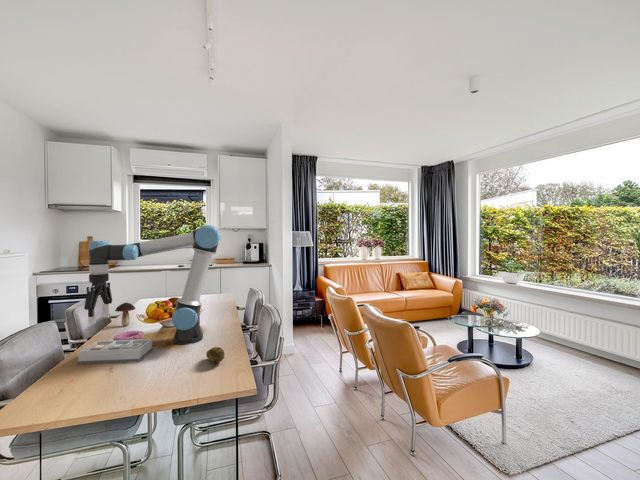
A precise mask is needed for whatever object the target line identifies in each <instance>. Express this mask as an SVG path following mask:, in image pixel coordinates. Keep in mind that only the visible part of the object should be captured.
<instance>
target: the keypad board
mask: <svg viewBox="0 0 640 480" xmlns="http://www.w3.org/2000/svg"><path fill="white" fill-rule="evenodd" d="M135 343H143V345H142V346H141V347H139V348H138V349H127V347H128V346H130V345H131V344H135ZM106 344H108V345H107V346H106V347H104V348H102V349H101V350H91V348H92V347H94V346H96V345H106ZM114 344H125V345H124V346H123V347H121V348H120V349H116V350H109V348H110V347H111V346H113V345H114ZM153 350H154V349H153V339H151V338H149V339H145V338H144V339H142V340H113V339H112V340H97V341H95V342H93V343H91V344H89V345H87V346H85V347H84V348H82V349H80V350H78V353H77V354H78V360H77V365H86V364H87V365H90V364H113V363H114V364H115V363H116V364H117V363H135V362H136V363H138V362H140V361H141V360H143V359H144V358H145V357H147V355H149V354H150V353H152V351H153Z"/></svg>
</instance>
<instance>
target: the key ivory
mask: <svg viewBox="0 0 640 480" xmlns="http://www.w3.org/2000/svg"><path fill="white" fill-rule="evenodd" d="M142 345H143V343H135V344H131V345H130V346H128V347H127V349H138V348H139V347H141V346H142Z"/></svg>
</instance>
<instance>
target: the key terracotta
mask: <svg viewBox="0 0 640 480" xmlns="http://www.w3.org/2000/svg"><path fill="white" fill-rule="evenodd" d="M107 345H108V344H106V345H96V346H94V347H92V348H91V350H101V349H102V348H104V347H106V346H107Z"/></svg>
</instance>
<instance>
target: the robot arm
mask: <svg viewBox="0 0 640 480" xmlns="http://www.w3.org/2000/svg"><path fill="white" fill-rule="evenodd" d="M220 233H221V232H220V231H219V230H218V228H217V227H215V226H214V225H209V224H205V225H204V224H203V225H202V226H199V227H198V229H195V230H191V232H189V233H183V234H177V235H173V236H166V237H161V238H156V239H151V240H146V241H140V242H135V243H129V244H110V242H109V241H108V240H91V241H89V243H88V273H89V274H88V282H89V283H91V285H90V286H87V287H86V295H85V302H84V310H87V312H88V313H87V316H88V317H87V318H88V320H87V322H88V323H87V324H88V325H95V324H96V323H97V313H96V312H97V311H96V308H95V307H96V304H97V300H98V299H99V298H98V297H99V296H100V298H101V300H102V307H101V308H102V309H101V310H102V314H101V315H102V316H101V317H102V318H110V304H112V303H113V296H112V291H111V282H109V280H110V279H109V278H110V275H109V274H110V273H109V272H110V271H109V268H110V267H109V264H110V263H109V261H136V260H137V259H138V258H140V257H145V256H151V255H157V254H161V253H165V252H171V251H176V250H181V249H187V248H191V247H192V249H193V251H194V253H193V257H192V260H191V262H190V263H191V264H190V267H189V271H188V275H187V278H186V282H185V284H184V288H183V292H182V296H181V297H180V298H178V299H177V300H176V306H175V310H174V313H172V315H171V321H172V324H173V326H174V328H175V332H174V335H173V343H175V344H177V345H188V344H189V345H190V344H195V343H197V342H200V341H202V340H203V339H204V333H203V330H202V328H201V325H200V324H201V320H200V319H201V317H200V315H201V307H202V302H201V300H200V299H201V296H202V292H203V288H204V285H205V282H206V278H207V274H208V271H209V266H210V264H211V260H212V256H214V255H215V254H216V253H217V249H218V246H219V242H220V240H221V234H220Z"/></svg>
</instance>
